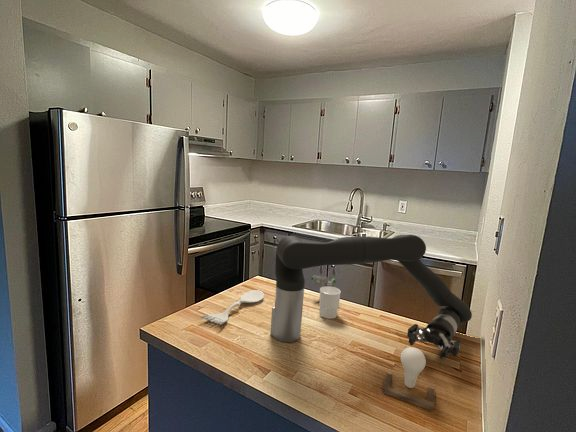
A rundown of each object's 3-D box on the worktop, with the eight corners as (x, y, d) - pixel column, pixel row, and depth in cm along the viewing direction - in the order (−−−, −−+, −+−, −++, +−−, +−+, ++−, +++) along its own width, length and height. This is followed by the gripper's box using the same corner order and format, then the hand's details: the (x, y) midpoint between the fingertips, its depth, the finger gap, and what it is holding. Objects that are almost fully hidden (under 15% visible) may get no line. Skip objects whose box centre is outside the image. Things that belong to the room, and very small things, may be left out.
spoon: (199, 324, 107) (199, 315, 106) (250, 293, 135) (250, 285, 135) (220, 332, 103) (220, 322, 103) (268, 298, 132) (268, 290, 131)
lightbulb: (420, 383, 84) (426, 345, 83) (422, 398, 79) (428, 358, 77) (396, 376, 86) (401, 340, 84) (396, 391, 80) (402, 352, 79)
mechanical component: (333, 302, 131) (335, 280, 130) (309, 298, 133) (311, 276, 132) (333, 299, 134) (336, 277, 133) (310, 296, 136) (312, 274, 135)
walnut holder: (382, 392, 80) (382, 388, 79) (386, 376, 86) (386, 372, 86) (433, 411, 74) (433, 406, 74) (433, 393, 81) (434, 389, 81)
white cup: (341, 314, 121) (343, 290, 120) (333, 321, 115) (335, 296, 113) (323, 308, 125) (325, 284, 124) (314, 315, 119) (316, 290, 117)
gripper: (421, 310, 106) (403, 326, 94) (468, 326, 96) (454, 347, 84) (418, 331, 107) (399, 349, 95) (464, 348, 98) (450, 372, 86)
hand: (425, 348), depth 90 cm, fingers open, 8 cm apart
